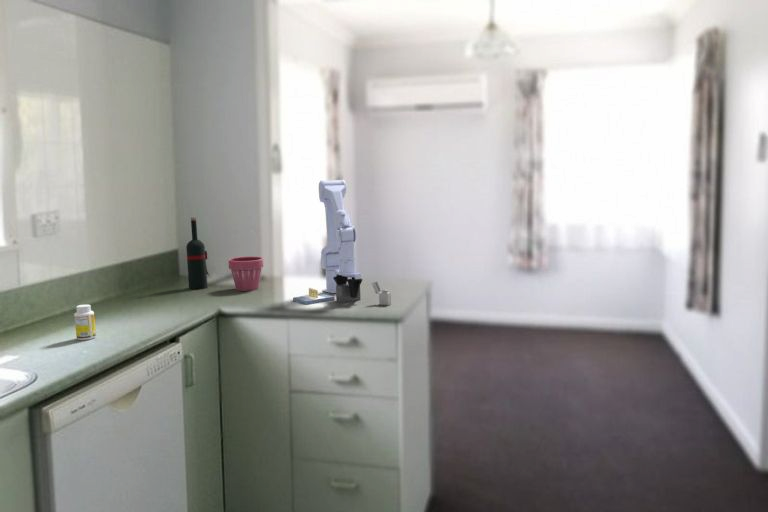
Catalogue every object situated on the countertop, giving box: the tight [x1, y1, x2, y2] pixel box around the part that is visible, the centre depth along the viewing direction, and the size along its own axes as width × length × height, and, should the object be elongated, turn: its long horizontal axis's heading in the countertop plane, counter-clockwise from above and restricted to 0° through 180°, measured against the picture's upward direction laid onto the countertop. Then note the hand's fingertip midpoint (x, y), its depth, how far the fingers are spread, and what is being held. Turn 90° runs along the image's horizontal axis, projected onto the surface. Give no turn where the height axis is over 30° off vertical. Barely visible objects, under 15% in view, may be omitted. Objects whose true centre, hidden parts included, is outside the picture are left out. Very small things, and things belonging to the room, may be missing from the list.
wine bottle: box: [185, 216, 210, 291], centre depth 300 cm, size 8×10×30 cm
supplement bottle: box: [74, 304, 97, 341], centre depth 216 cm, size 6×6×10 cm
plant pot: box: [228, 256, 264, 292], centre depth 293 cm, size 14×14×13 cm
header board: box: [292, 287, 335, 306], centre depth 264 cm, size 12×10×4 cm
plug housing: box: [335, 284, 362, 304], centre depth 261 cm, size 4×8×6 cm, turn 126°
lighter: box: [371, 280, 392, 306], centre depth 253 cm, size 7×2×8 cm, turn 54°
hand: (348, 296), depth 261 cm, fingers open, 7 cm apart
